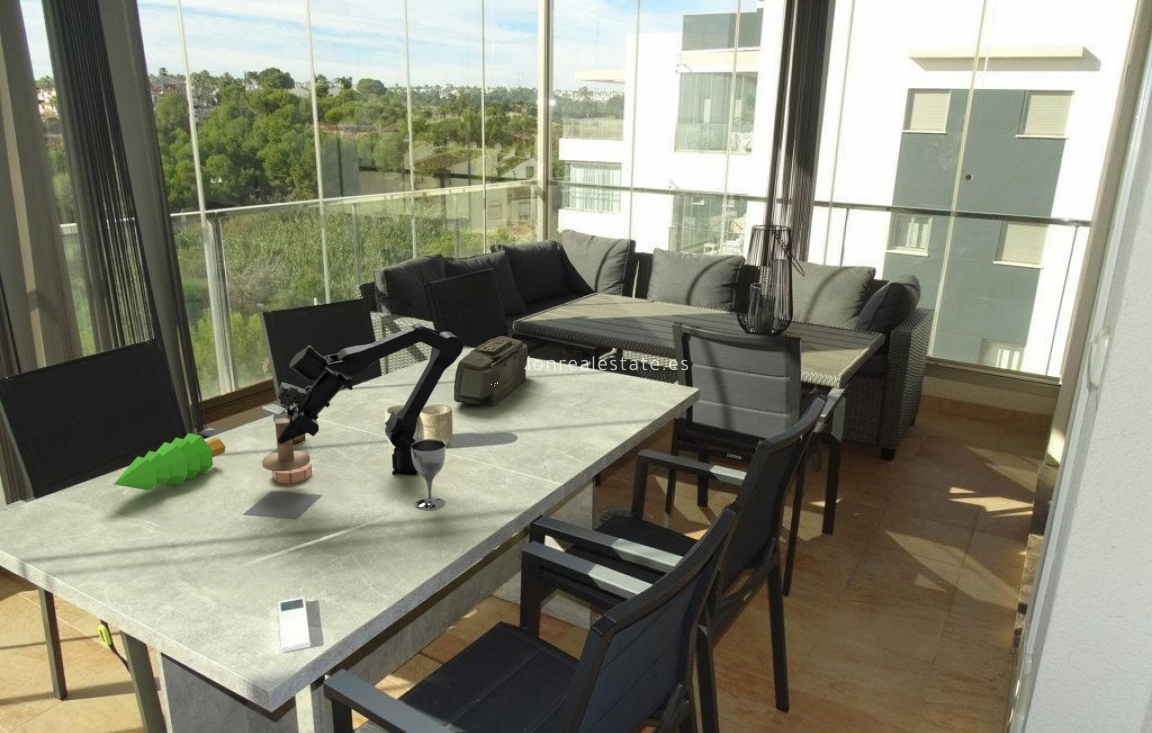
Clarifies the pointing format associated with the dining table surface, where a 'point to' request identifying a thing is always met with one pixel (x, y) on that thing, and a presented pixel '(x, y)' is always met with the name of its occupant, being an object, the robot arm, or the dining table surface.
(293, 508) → the rubber mat
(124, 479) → the decorative tree
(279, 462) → the walnut lid
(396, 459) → the robot arm
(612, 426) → the dining table surface
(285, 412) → the food container
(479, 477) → the dining table surface
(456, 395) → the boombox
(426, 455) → the wine glass
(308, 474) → the terracotta bowl
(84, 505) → the dining table surface
